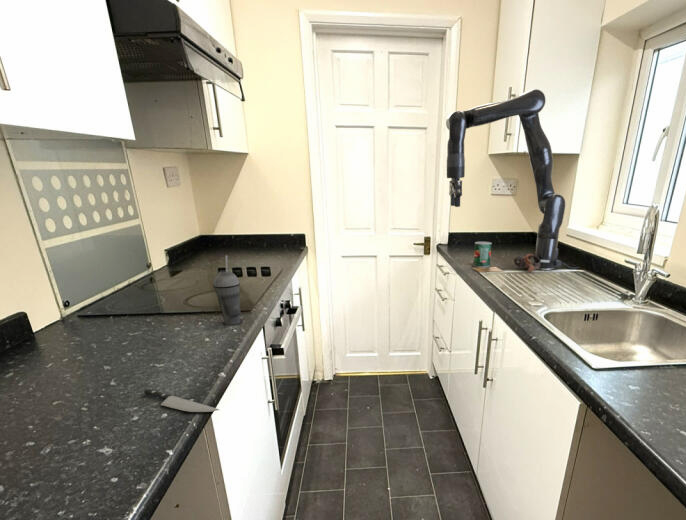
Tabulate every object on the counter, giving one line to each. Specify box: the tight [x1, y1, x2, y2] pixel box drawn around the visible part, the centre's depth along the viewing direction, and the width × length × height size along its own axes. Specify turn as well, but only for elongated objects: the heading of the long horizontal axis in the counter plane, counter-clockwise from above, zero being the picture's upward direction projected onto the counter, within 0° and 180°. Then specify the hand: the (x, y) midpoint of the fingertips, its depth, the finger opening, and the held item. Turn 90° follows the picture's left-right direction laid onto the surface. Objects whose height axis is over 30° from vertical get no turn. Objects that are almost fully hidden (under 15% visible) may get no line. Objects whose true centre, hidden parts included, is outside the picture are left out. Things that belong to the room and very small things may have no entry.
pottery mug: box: [513, 253, 541, 273], centre depth 189 cm, size 12×10×8 cm
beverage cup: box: [212, 254, 242, 326], centre depth 120 cm, size 7×7×20 cm
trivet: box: [472, 266, 504, 273], centre depth 192 cm, size 12×9×1 cm
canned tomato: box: [473, 241, 493, 268], centre depth 197 cm, size 8×8×11 cm
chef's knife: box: [143, 388, 220, 413], centre depth 79 cm, size 19×1×3 cm
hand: (455, 206), depth 178 cm, fingers open, 8 cm apart
